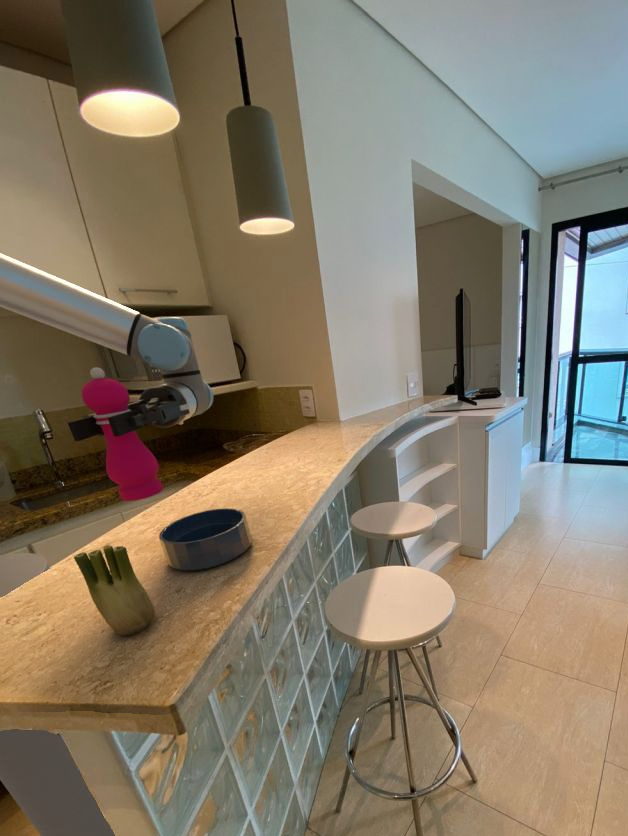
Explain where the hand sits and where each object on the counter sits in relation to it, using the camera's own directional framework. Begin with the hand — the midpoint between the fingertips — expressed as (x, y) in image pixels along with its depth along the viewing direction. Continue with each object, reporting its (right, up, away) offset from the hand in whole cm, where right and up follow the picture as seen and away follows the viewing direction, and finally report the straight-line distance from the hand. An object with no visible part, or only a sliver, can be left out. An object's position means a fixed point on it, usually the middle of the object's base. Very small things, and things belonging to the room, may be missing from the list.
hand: (93, 429), depth 58 cm
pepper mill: (+1, -9, +10) cm, 13 cm away
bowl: (+11, -19, +15) cm, 26 cm away
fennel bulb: (+8, -27, -4) cm, 29 cm away
